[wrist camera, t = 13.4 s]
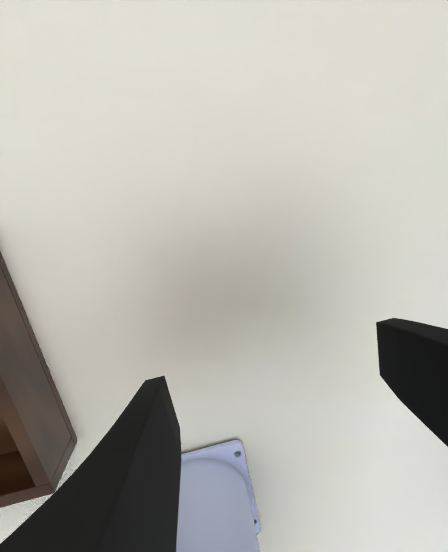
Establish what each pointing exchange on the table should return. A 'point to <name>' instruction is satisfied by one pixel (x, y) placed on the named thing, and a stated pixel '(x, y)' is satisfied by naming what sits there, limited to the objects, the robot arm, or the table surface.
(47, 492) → the crate
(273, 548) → the table surface
